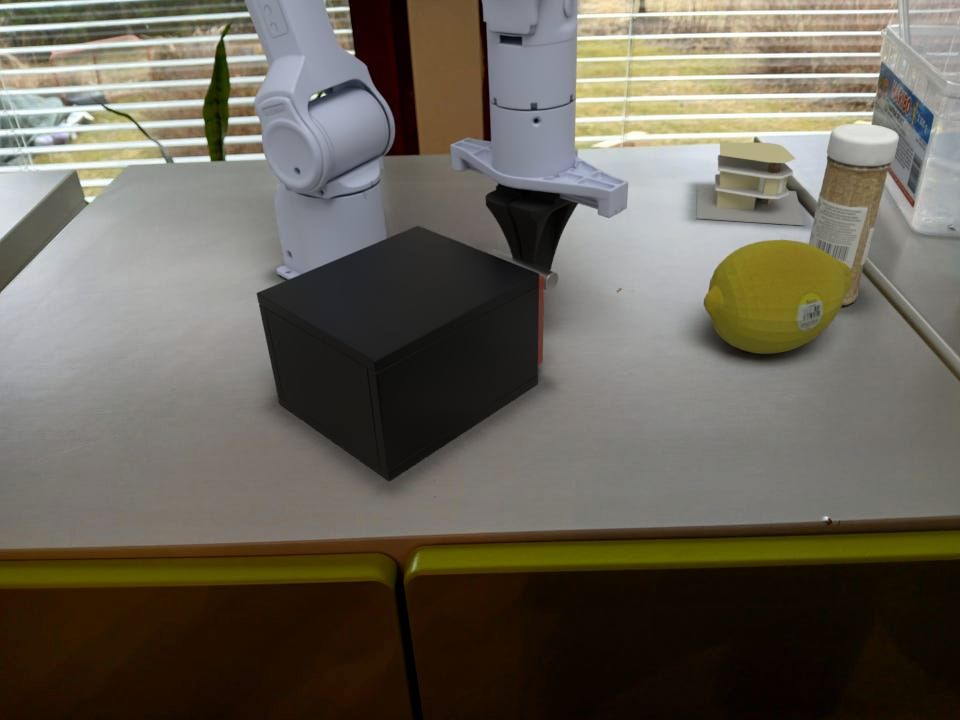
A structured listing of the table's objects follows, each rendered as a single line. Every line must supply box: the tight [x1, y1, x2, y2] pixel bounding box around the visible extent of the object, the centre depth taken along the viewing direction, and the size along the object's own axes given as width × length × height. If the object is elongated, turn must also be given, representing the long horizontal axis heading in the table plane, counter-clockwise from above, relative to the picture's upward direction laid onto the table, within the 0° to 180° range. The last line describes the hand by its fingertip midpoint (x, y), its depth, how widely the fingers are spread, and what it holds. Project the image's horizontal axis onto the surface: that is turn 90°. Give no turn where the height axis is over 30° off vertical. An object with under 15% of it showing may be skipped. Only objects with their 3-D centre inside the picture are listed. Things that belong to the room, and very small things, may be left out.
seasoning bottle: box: [808, 123, 900, 306], centre depth 61 cm, size 5×5×13 cm
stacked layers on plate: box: [696, 142, 805, 226], centre depth 79 cm, size 10×9×6 cm
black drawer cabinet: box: [256, 225, 540, 482], centre depth 52 cm, size 14×12×9 cm
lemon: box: [703, 239, 852, 355], centre depth 56 cm, size 11×8×8 cm
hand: (534, 278), depth 60 cm, fingers closed, pressing on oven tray
